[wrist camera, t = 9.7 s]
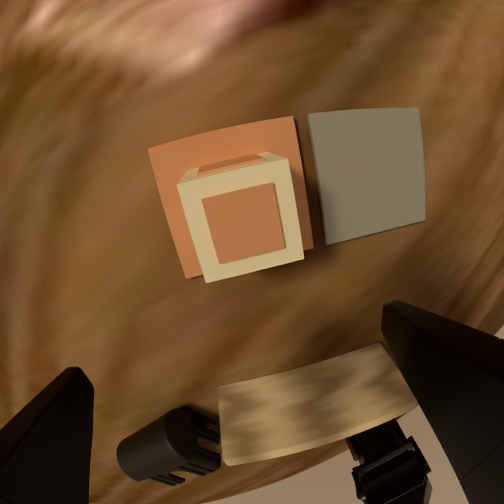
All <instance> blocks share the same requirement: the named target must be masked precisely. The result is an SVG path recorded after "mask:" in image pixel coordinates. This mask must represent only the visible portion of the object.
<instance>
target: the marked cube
mask: <svg viewBox="0 0 504 504" xmlns="http://www.w3.org/2000/svg"><path fill="white" fill-rule="evenodd" d="M177 188H178V192H179V195H180V199H181V202H182V206H183V209H184V213H185V216H186V220H187V223H188V227H189V230H190V233H191V237H192V240H193V243H194V246H195V250H196V253H197V256H198V259H199V263H200V266H201V269H202V272H203V275H204V278H205V281H206V283H209V282H213V281H217V280H221V279H225V278H230V277H234V276H238V275H242V274H246V273H250V272H254V271H258V270H262V269H266V268H270V267H274V266H278V265H282V264H286V263H290V262H294V261H298V260H302V259H304V253H303V246H302V240H301V233H300V226H299V220H298V214H297V208H296V202H295V196H294V190H293V184H292V179H291V173H290V167H289V162H288V159H287V158H285V157H282V156H278V155H275V154H272V153H269V152H265V153H260V154H250V155H245V156H241V157H236V158H232V159H228V160H224V161H219V162H215V163H211V164H207V165H203V166H200V167H199V168H196V169H193V170H189V171H187V172H186V173H185V174H184V176H183V177H182V178H181V180H180V181H179V182H178V184H177Z"/></svg>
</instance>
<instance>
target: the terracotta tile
mask: <svg viewBox="0 0 504 504" xmlns="http://www.w3.org/2000/svg"><path fill="white" fill-rule="evenodd" d="M148 152H149V156H150V160H151V164H152V167H153V171H154V175H155V179H156V182H157V186H158V190H159V193H160V197H161V200H162V204H163V207H164V211H165V214H166V217H167V221H168V224H169V227H170V230H171V234H172V237H173V240H174V243H175V246H176V249H177V253H178V256H179V259H180V262H181V265H182V268H183V271H184V274H185V276H186V279H187V278H192V277H196V276H200V275H203V272H202V269H201V266H200V263H199V259H198V256H197V253H196V250H195V246H194V243H193V240H192V237H191V233H190V230H189V227H188V223H187V220H186V216H185V213H184V209H183V206H182V202H181V199H180V195H179V192H178V188H177V184H178V182H179V181H180V180H181V178H182V177H183V176H184V174H185V173H186V172H187V171H189V170H193V169H196V168H199V167H200V166H203V165H207V164H211V163H215V162H219V161H224V160H228V159H232V158H236V157H241V156H245V155H250V154H260V153H265V152H269V153H272V154H275V155H278V156H282V157H285V158H287V159H288V162H289V167H290V173H291V179H292V184H293V190H294V196H295V202H296V208H297V214H298V220H299V226H300V233H301V240H302V246H303V251H305V250H309V249H313V248H314V247H313V238H312V230H311V223H310V215H309V208H308V201H307V194H306V188H305V181H304V175H303V169H302V163H301V157H300V151H299V145H298V140H297V134H296V129H295V124H294V119H293V116H289V117H282V118H276V119H270V120H264V121H258V122H253V123H248V124H242V125H237V126H233V127H228V128H223V129H219V130H215V131H210V132H206V133H202V134H198V135H194V136H190V137H186V138H183V139H179V140H175V141H172V142H168V143H165V144H161V145H158V146H155V147H152V148H148Z"/></svg>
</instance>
